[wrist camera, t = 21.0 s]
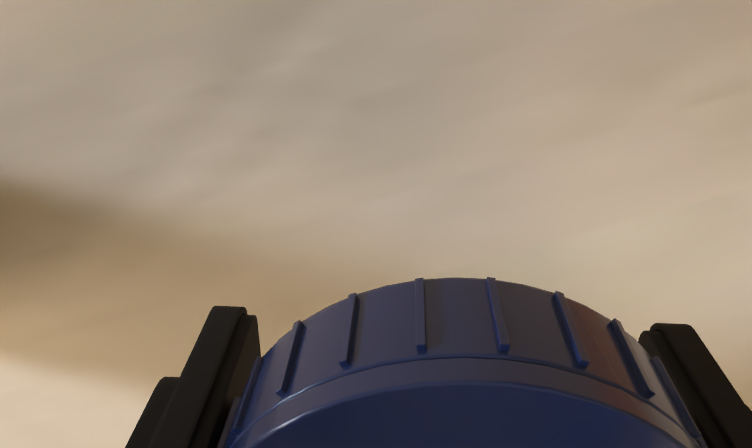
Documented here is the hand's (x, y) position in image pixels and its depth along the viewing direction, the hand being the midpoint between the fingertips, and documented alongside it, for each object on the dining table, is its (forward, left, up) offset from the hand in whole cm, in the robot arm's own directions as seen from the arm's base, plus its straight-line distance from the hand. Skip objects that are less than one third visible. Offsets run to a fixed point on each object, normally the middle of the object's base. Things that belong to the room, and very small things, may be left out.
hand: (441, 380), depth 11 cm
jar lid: (0, 0, +3) cm, 3 cm away
